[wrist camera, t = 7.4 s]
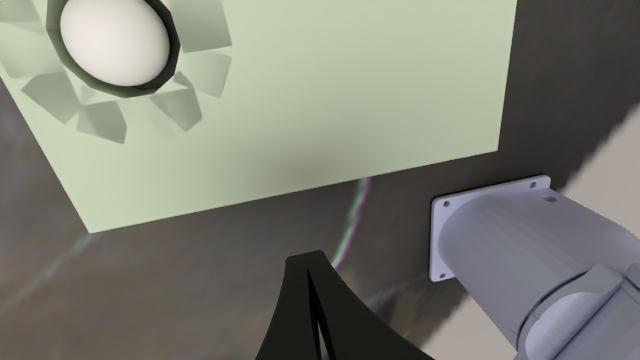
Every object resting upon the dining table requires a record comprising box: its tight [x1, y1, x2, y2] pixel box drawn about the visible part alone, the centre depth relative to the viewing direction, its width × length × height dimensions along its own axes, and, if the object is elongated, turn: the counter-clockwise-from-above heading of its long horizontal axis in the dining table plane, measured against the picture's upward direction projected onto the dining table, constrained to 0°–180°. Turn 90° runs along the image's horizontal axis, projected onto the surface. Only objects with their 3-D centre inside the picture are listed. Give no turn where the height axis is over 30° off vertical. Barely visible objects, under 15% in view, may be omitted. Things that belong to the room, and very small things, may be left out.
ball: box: [60, 0, 170, 86], centre depth 14 cm, size 4×4×4 cm
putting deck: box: [0, 0, 517, 233], centre depth 15 cm, size 24×18×2 cm
